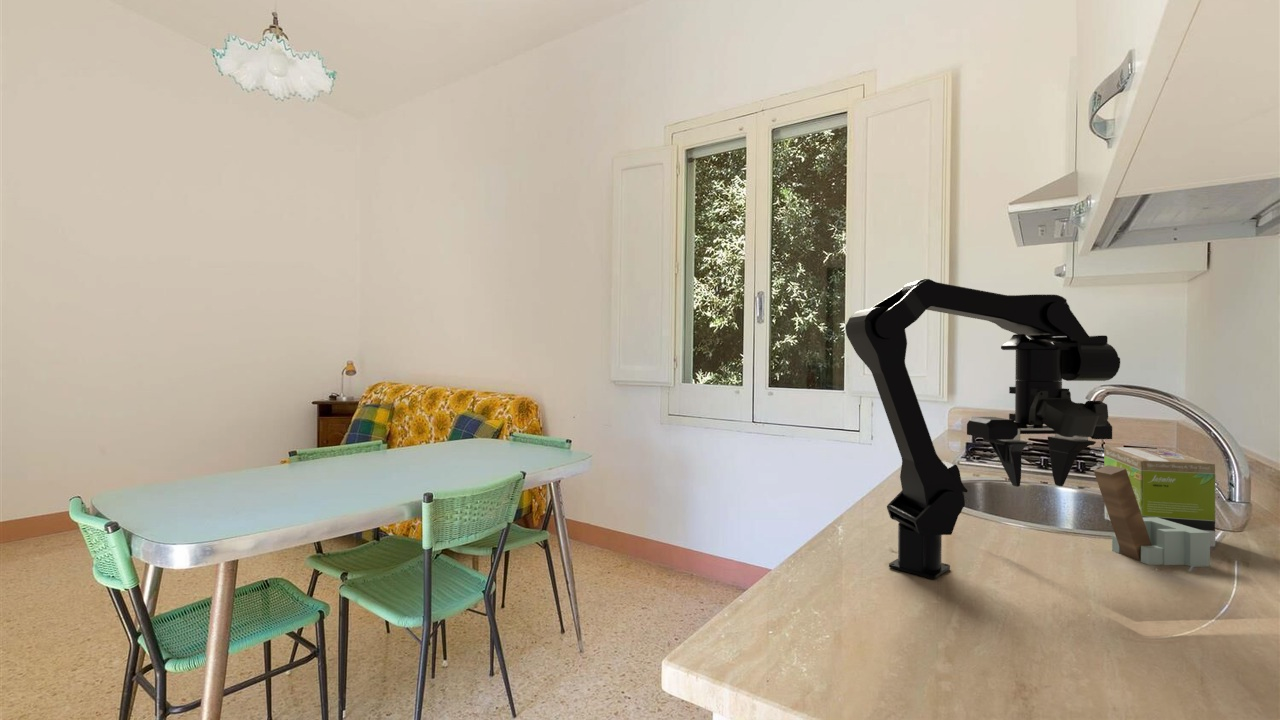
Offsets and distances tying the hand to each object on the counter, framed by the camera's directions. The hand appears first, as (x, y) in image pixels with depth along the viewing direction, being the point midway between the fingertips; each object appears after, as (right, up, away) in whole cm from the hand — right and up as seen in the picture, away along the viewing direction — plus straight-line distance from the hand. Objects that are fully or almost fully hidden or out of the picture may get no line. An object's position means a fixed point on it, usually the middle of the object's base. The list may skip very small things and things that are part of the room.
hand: (1037, 485), depth 86 cm
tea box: (+30, -12, +15) cm, 36 cm away
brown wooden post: (+16, -11, +1) cm, 19 cm away
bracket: (+18, -12, +1) cm, 22 cm away
